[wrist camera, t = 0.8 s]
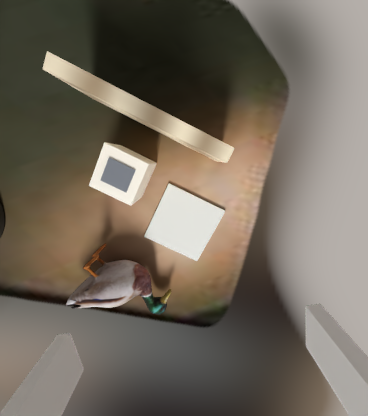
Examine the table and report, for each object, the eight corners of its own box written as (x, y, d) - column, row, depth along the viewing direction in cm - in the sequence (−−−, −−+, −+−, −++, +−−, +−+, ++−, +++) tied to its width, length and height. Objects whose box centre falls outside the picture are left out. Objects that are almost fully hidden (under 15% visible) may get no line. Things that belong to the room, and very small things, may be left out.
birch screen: (93, 99, 29) (42, 68, 19) (97, 87, 28) (47, 51, 18) (215, 161, 30) (226, 162, 20) (220, 151, 30) (234, 148, 20)
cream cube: (108, 180, 32) (88, 186, 26) (121, 145, 30) (103, 142, 24) (142, 197, 32) (130, 206, 26) (157, 162, 31) (148, 164, 25)
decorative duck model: (180, 318, 30) (107, 365, 32) (179, 284, 37) (119, 324, 39) (111, 249, 26) (32, 308, 28) (125, 226, 33) (61, 275, 35)
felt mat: (144, 235, 34) (143, 236, 33) (169, 183, 31) (168, 183, 31) (196, 260, 34) (197, 261, 34) (224, 210, 32) (225, 211, 31)
